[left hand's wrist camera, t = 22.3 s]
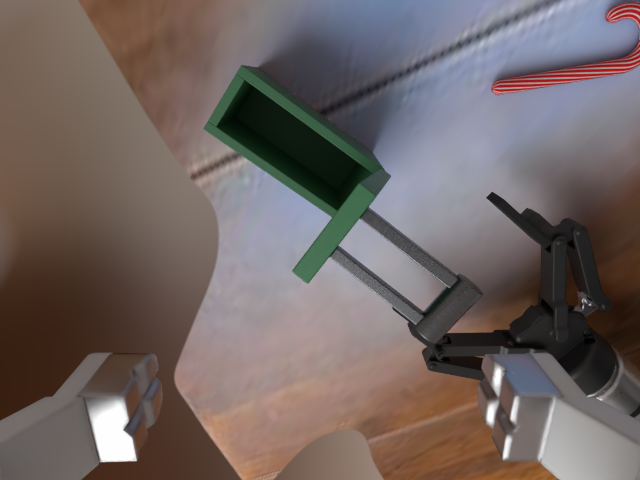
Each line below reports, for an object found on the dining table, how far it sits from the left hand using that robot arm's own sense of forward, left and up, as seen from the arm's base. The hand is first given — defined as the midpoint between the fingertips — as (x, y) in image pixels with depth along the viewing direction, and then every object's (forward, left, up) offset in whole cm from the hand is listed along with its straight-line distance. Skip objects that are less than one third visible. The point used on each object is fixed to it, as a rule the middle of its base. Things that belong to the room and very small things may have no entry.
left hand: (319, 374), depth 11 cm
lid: (-2, +1, -19) cm, 19 cm away
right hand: (-12, +9, -29) cm, 32 cm away
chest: (+2, -2, -35) cm, 35 cm away
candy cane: (-24, -8, -35) cm, 43 cm away
